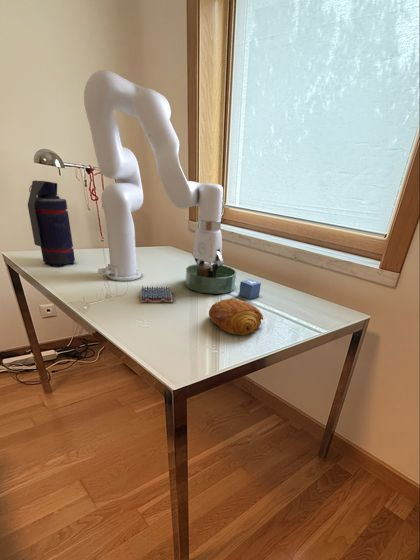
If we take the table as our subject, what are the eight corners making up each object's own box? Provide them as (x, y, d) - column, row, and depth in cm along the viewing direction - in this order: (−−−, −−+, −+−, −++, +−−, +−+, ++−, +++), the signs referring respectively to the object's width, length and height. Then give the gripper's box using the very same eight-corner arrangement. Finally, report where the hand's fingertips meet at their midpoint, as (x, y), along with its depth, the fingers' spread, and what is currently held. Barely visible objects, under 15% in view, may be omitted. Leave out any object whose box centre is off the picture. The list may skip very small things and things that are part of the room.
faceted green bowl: (209, 298, 107) (210, 281, 104) (175, 283, 118) (176, 267, 115) (244, 288, 118) (246, 272, 115) (210, 275, 129) (211, 261, 126)
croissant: (223, 346, 83) (227, 321, 79) (201, 315, 94) (203, 291, 89) (270, 337, 89) (276, 313, 84) (244, 309, 100) (248, 286, 95)
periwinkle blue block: (249, 299, 109) (251, 285, 106) (238, 295, 112) (240, 281, 109) (258, 296, 112) (261, 282, 109) (248, 292, 115) (249, 278, 112)
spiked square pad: (139, 303, 100) (139, 297, 99) (140, 291, 109) (140, 285, 108) (173, 303, 101) (173, 297, 100) (171, 291, 110) (171, 286, 109)
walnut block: (206, 282, 111) (206, 268, 109) (196, 279, 114) (197, 265, 112) (216, 280, 114) (217, 266, 112) (206, 276, 117) (207, 263, 115)
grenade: (64, 258, 138) (51, 179, 123) (81, 263, 132) (70, 182, 117) (33, 263, 128) (15, 179, 113) (50, 270, 122) (33, 182, 107)
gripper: (184, 222, 108) (183, 274, 117) (219, 230, 98) (215, 287, 107) (200, 221, 113) (198, 271, 122) (235, 229, 102) (230, 283, 111)
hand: (206, 278), depth 114 cm, fingers closed on walnut block, 5 cm apart
